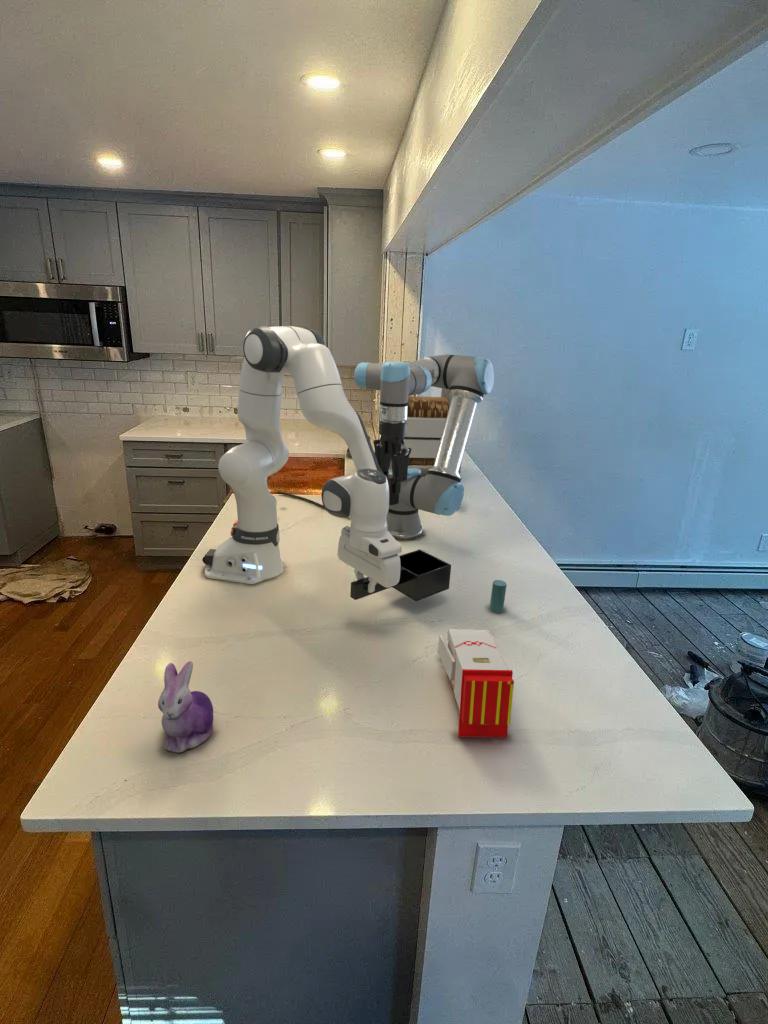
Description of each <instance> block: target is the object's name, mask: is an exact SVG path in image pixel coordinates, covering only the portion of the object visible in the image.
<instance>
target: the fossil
mask: <svg viewBox="0 0 768 1024" xmlns="http://www.w3.org/2000/svg"><path fill="white" fill-rule="evenodd" d="M368 437H369V440H370V441H371V437H370V435H368ZM345 455H346V457H347V458H350V459H352V456H351V454H350V451H349V448H348V447H347V449H346V454H345Z"/></svg>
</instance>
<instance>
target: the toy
mask: <svg viewBox="0 0 768 1024" xmlns="http://www.w3.org/2000/svg"><path fill="white" fill-rule="evenodd" d="M446 640H447V643H446V641H445V639H444V636H443V635H442V634H439V637H438V646H437V656H438V657H439V659H440V661H441V663H442V666H443V668H444V670H445V672H446V674H447V677H448V679H449V681H450V684H451V687H452V690H453V693H454V697H455V701H456V705H457V708H458V711H459V714H458V715H459V716H458V730H457V731H458V732H457V737H458V738H508V731H509V726H510V725H511V717H512V707H513V697H514V696H513V695H514V684H515V680H514V679H513V673H514V671H513V670H512V669H508V667H507V665H506V662H505V661H504V659H503V658H502V655H501V653H500V651H499V649H498V647H497V643H496V639H495V637H494V635H493V634H491V632H490V631H489V629H467V628H466V629H465V628H463V629H461V628H460V629H459V628H448V630H447V639H446Z"/></svg>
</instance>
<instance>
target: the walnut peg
mask: <svg viewBox="0 0 768 1024" xmlns="http://www.w3.org/2000/svg"><path fill="white" fill-rule="evenodd" d="M385 476H386V477H387V480H388V484H389V505H390V488H391V481H393V475H390V474H389V475H385Z"/></svg>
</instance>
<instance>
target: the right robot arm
mask: <svg viewBox="0 0 768 1024" xmlns="http://www.w3.org/2000/svg"><path fill="white" fill-rule="evenodd" d="M494 373H495V371H494V366H493V363H492V361H491V360H490V359H489V358H486V357H482V356H481V357H480V356H478V355H477V356H471V355H459V354H448V353H447V354H439V355H438V354H437V355H430V356H423V357H421V358H419V359H418V360H409V361H407V360H406V361H394V360H393V361H384V362H375V363H374V362H369V361H367V362H360V363H358V364H357V366H356V367H355V370H354V383H355V385H356V386H357V387H358V388H360V389H365V390H366V391H367V390H371V391H380V395H379V396H380V398H379V399H380V400H379V419H380V421H379V422H378V434H379V435H380V438H379V439H374V440H373V441H372V442H373V447H374V453H375V456H376V459H377V461H378V464H379V466H380V468H381V470H382V472H383V474H384V475H389V474H390V475H393V481H391V488H390V505H389V510H388V513H387V517H386V520H387V525H388V527H387V531H389V532H390V534H391V535H392V536H393V537H394V539H395V540H396V541H410V540H415V539H418V538H420V537H421V536H422V535H423V525H422V524H421V518H420V515H419V510H420V511H423V512H426V513H432V514H435V515H437V516H440V515H441V516H445V517H448V516H449V517H450V516H452V515H453V514H455V513H456V512H457V511H458V510H459V508H460V506H461V505H462V502H463V499H464V496H465V486H464V484H463V483H462V482H461V481H462V477H461V474H460V475H459V473H458V472H459V468H460V464H461V465H462V462H461V461H463V456H464V453H465V449H466V447H467V446H466V445H467V441H468V437H469V434H470V431H471V427H472V423H473V419H474V415H475V412H476V408H477V405H479V404H480V403H482V401H483V400H484V396H485V395H489V394H491V393H492V391H493V388H494V383H495V374H494ZM431 387H433V388H438V389H442V388H443V389H449V394H450V396H451V398H452V399H451V403H450V407H449V410H448V414H447V418H446V422H445V425H444V429H443V433H442V436H441V440H440V444H439V447H438V451H437V455H436V459H435V462H434V466H431V467H430V468H428V469H427V471H426V474H425V475H423V474H422V470H421V468H419V467H412V466H411V467H409V466H408V463H409V455H410V453H411V448H407V447H406V446H405V445H404V436H405V435H406V427H407V423H406V422H405V421H406V420H407V408H408V396H416V395H417V396H418V395H421V394H423V393H425V392H427V391H428V390H429V389H430V388H431ZM390 461H392V470H391V471H390ZM276 494H278V495H282V496H286V497H291V498H294V499H299V500H302V501H305V502H308V503H310V504H313V505H315V506H318V507H319V508H321V509H324V510H326V509H325V508H324V506H323V504H321V503H318V502H317V501H314V500H312V499H309V498H306V497H303V496H301V495H300V496H299V495H297V494H292V493H288V492H284V491H279V490H278V491H277V493H276ZM460 504H461V505H460Z"/></svg>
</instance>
